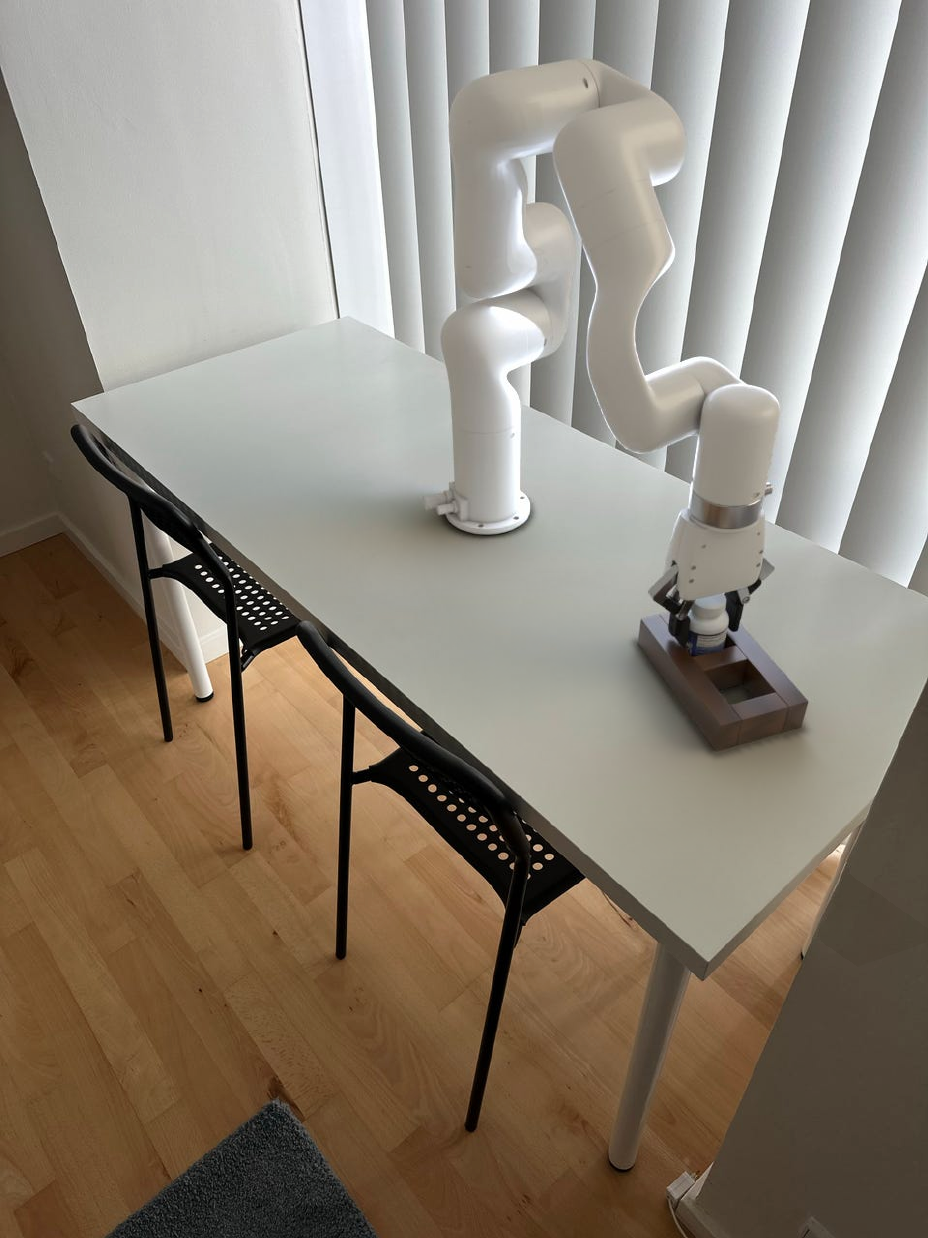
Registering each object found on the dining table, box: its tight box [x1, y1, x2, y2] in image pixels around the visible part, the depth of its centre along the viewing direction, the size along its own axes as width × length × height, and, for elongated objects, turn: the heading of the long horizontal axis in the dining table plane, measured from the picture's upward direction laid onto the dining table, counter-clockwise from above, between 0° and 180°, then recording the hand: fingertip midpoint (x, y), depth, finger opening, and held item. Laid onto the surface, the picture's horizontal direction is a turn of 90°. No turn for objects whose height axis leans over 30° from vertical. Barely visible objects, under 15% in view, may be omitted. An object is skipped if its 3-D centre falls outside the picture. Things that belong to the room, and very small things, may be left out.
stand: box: [637, 611, 809, 752], centre depth 110 cm, size 11×19×4 cm, turn 18°
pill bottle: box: [683, 593, 729, 657], centre depth 112 cm, size 5×5×10 cm
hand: (703, 630), depth 112 cm, fingers open, 6 cm apart
